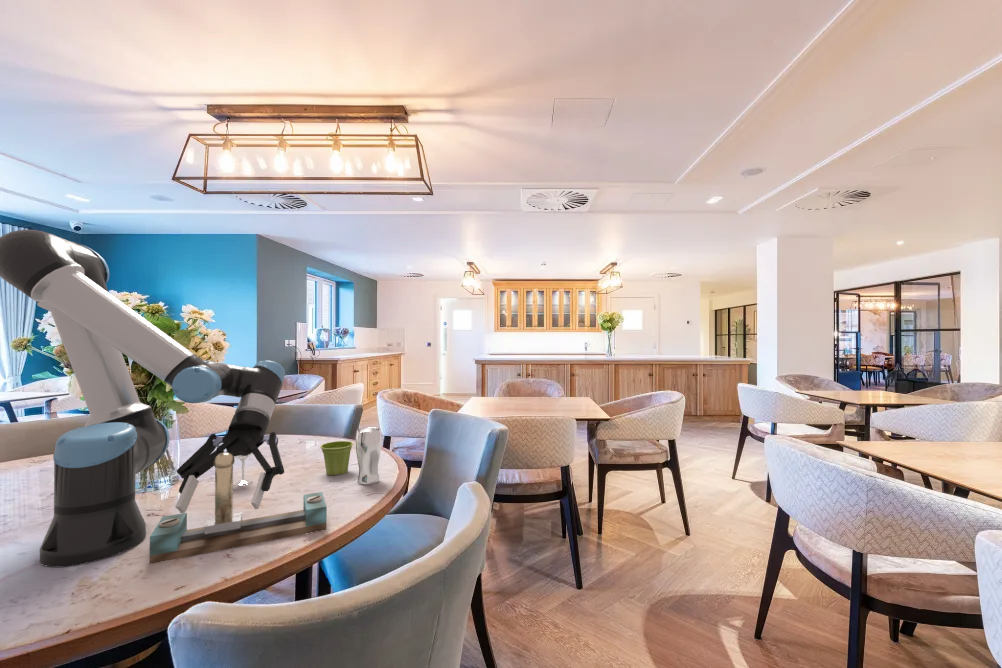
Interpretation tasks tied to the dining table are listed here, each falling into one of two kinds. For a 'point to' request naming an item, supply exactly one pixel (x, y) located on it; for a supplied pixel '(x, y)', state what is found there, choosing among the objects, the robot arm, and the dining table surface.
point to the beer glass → (368, 454)
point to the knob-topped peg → (223, 497)
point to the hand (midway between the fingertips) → (217, 508)
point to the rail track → (234, 531)
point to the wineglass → (243, 481)
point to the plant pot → (336, 456)
